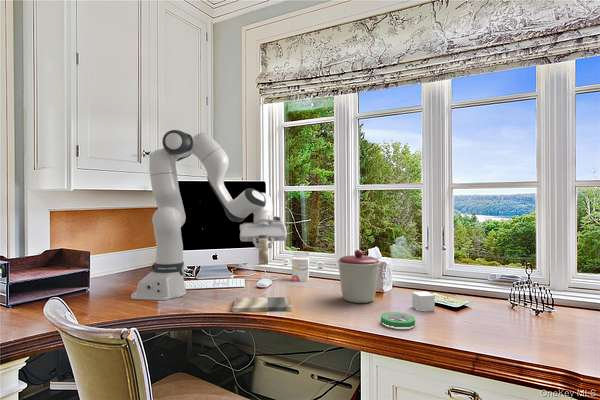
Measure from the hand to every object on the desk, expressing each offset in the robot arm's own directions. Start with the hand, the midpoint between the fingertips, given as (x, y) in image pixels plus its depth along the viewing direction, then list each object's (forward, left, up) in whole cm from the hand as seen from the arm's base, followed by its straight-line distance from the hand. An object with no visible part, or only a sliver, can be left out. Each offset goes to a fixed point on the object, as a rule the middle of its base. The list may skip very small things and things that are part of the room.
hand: (263, 247), depth 152 cm
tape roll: (+46, -34, -22) cm, 61 cm away
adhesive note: (+62, -18, -22) cm, 68 cm away
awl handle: (0, 0, -7) cm, 7 cm away
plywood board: (0, -10, -22) cm, 24 cm away
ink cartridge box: (+19, +35, -22) cm, 46 cm away
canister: (+40, -4, -22) cm, 46 cm away
